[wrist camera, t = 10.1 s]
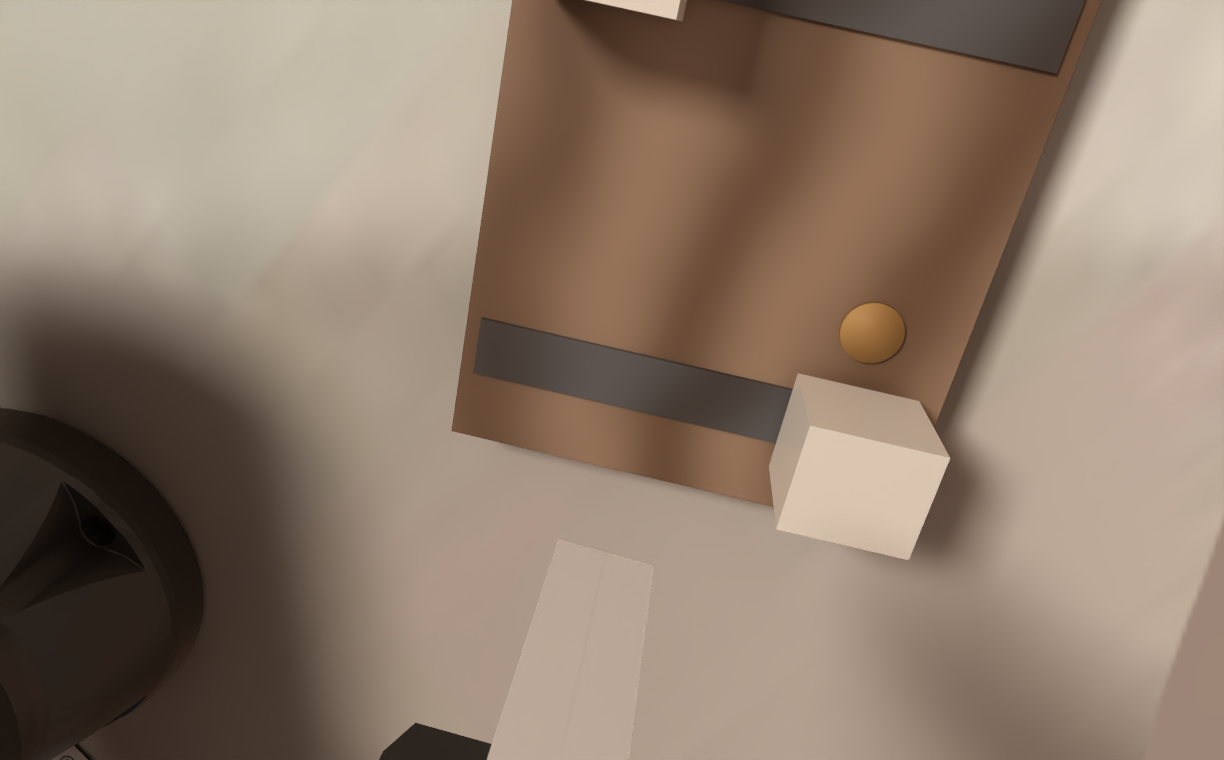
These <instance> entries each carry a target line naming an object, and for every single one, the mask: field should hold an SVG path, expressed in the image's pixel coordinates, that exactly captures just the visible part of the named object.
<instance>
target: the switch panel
mask: <svg viewBox="0 0 1224 760" xmlns="http://www.w3.org/2000/svg"><path fill="white" fill-rule="evenodd" d="M1101 1H1102V0H687V3H686V8H685V12H684V17H683V21H678V20H674V19H669V18H664V17H660V16H655V15H651V14H646V13H642V12H637V11H632V10H628V9H623V8H619V7H614V6H610V5H605V4H601V3H596V2H591V1H587V0H512V7H511V14H510V21H509V28H508V35H507V42H506V49H505V56H504V63H503V70H502V77H501V85H500V92H499V99H498V106H497V113H496V120H495V127H494V134H493V141H492V148H491V155H490V162H489V170H488V177H487V184H486V191H485V198H484V205H483V212H482V219H481V226H480V233H479V240H478V248H477V255H476V262H475V269H474V276H473V283H472V290H471V297H470V304H469V311H468V318H467V325H466V333H465V340H464V347H463V354H462V361H461V368H460V375H459V382H458V389H457V396H456V403H455V411H454V418H453V425H452V431H454V432H458V433H463V434H467V435H471V436H475V437H480V438H484V439H488V440H492V441H497V442H501V443H505V444H509V445H514V446H518V447H522V448H527V449H531V450H535V451H539V452H544V453H548V454H552V455H556V456H561V457H565V458H569V459H573V460H578V461H582V462H586V463H590V464H595V465H599V466H603V467H607V468H612V469H616V470H620V471H624V472H629V473H633V474H637V475H642V476H646V477H650V478H654V479H659V480H663V481H667V482H671V483H676V484H680V485H684V486H688V487H693V488H697V489H701V490H705V491H710V492H714V493H718V494H722V495H727V496H731V497H735V498H740V499H744V500H748V501H752V502H757V503H761V504H765V505H769V506H773V498H772V489H771V480H770V472H769V464H770V461H771V458H772V454H773V451H774V448H775V445H776V442H777V438H778V435H779V432H780V429H781V426H782V422H783V419H784V416H785V413H786V410H787V406H788V403H789V400H790V397H791V394H792V390H793V387H794V384H795V381H796V377H797V374H798V373H799V374H804V375H808V376H812V377H817V378H821V379H825V380H830V381H834V382H838V383H843V384H847V385H851V386H856V387H860V388H864V389H869V390H873V391H877V392H882V393H886V394H890V395H895V396H899V397H904V398H908V399H912V400H917V401H920V403H921V405H922V407H923V409H924V411H925V412H926V414H927V416H928V418H929V420H930V422H931V423H932V425H933V427H935V424H936V422H937V419H938V417H939V414H940V412H941V409H942V407H943V404H944V401H945V399H946V396H947V394H948V391H949V389H950V386H951V384H952V381H953V379H954V376H955V373H956V371H957V368H958V366H959V363H960V361H961V358H962V356H963V353H964V350H965V348H966V345H967V343H968V340H969V338H970V335H971V333H972V330H973V328H974V325H975V322H976V320H977V317H978V315H979V312H980V310H981V307H982V305H983V302H984V300H985V297H986V294H987V292H988V289H989V287H990V284H991V282H992V279H993V277H994V274H995V271H996V269H997V266H998V264H999V261H1000V259H1001V256H1002V254H1003V251H1004V249H1005V246H1006V243H1007V241H1008V238H1009V236H1010V233H1011V231H1012V228H1013V226H1014V223H1015V220H1016V218H1017V215H1018V213H1019V210H1020V208H1021V205H1022V203H1023V200H1024V198H1025V195H1026V192H1027V190H1028V187H1029V185H1030V182H1031V180H1032V177H1033V175H1034V172H1035V169H1036V167H1037V164H1038V162H1039V159H1040V157H1041V154H1042V152H1043V149H1044V147H1045V144H1046V141H1047V139H1048V136H1049V134H1050V131H1051V129H1052V126H1053V124H1054V121H1055V119H1056V116H1057V113H1058V111H1059V108H1060V106H1061V103H1062V101H1063V98H1064V96H1065V93H1066V90H1067V88H1068V85H1069V83H1070V80H1071V78H1072V75H1073V73H1074V70H1075V68H1076V65H1077V62H1078V60H1079V57H1080V55H1081V52H1082V50H1083V47H1084V45H1085V42H1086V39H1087V37H1088V34H1089V32H1090V29H1091V27H1092V24H1093V22H1094V19H1095V17H1096V14H1097V11H1098V9H1099V6H1100V4H1101Z"/></svg>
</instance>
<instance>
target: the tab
mask: <svg viewBox="0 0 1224 760" xmlns="http://www.w3.org/2000/svg"><path fill="white" fill-rule="evenodd" d="M949 460H950V457H949V455H948V453H947V451H946V449H945V447H944V445H943V444H942V442H941V440H940V438H939V436H938V434H937V433H936V431H935V429H934V427H933V425H932V423H931V422H930V420H929V418H928V416H927V414H926V412H925V411H924V409H923V407H922V405H921V403H920V401H917V400H912V399H908V398H904V397H899V396H895V395H890V394H886V393H882V392H877V391H873V390H869V389H864V388H860V387H856V386H851V385H847V384H843V383H838V382H834V381H830V380H825V379H821V378H817V377H812V376H808V375H804V374H799V373H798V374H797V377H796V381H795V384H794V387H793V390H792V394H791V397H790V400H789V403H788V406H787V410H786V413H785V416H784V419H783V422H782V426H781V429H780V432H779V435H778V438H777V442H776V445H775V448H774V451H773V454H772V458H771V461H770V464H769V472H770V480H771V489H772V498H773V506H774V515H775V523H776V529H778V530H782V531H786V532H790V533H795V534H799V535H803V536H807V537H812V538H816V539H820V540H824V541H829V542H833V543H837V544H841V545H846V546H850V547H854V548H858V549H863V550H867V551H871V552H875V553H880V554H884V555H888V556H892V557H897V558H901V559H905V560H909V558H910V556H911V554H912V551H913V549H914V546H915V544H916V541H917V539H918V536H919V534H920V531H921V529H922V527H923V524H924V522H925V519H926V517H927V514H928V512H929V509H930V507H931V504H932V502H933V500H934V497H935V495H936V492H937V490H938V487H939V485H940V482H941V480H942V477H943V475H944V473H945V470H946V468H947V465H948V463H949Z"/></svg>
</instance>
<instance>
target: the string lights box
mask: <svg viewBox="0 0 1224 760" xmlns="http://www.w3.org/2000/svg"><path fill="white" fill-rule="evenodd" d="M52 760H88V759H87V758H86V757H85V756H84V755H83V754H82V753H81V752H80V751H79V750H78V749H77V748H76V747H75V746H73V747H71V748H70V749H68V750H66V751H65V752H63V753H62V754H60V755H58V756H57V757H55V758H54V759H52Z"/></svg>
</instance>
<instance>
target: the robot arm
mask: <svg viewBox="0 0 1224 760" xmlns="http://www.w3.org/2000/svg"><path fill="white" fill-rule="evenodd" d="M653 571H654V565H650V564H647V563H643V562H639V561H636V560H632V559H629V558H625V557H621V556H618V555H614V554H610V553H607V552H603V551H599V550H596V549H592V548H588V547H585V546H581V545H578V544H574V543H570V542H567V541H563V540H559V539H558V541H557V544H556V548H555V551H554V554H553V557H552V560H551V563H550V566H549V569H548V572H547V575H546V578H545V581H544V585H543V588H542V591H541V594H540V597H539V600H538V603H537V606H536V609H535V612H534V615H533V618H532V622H531V625H530V628H529V631H528V634H527V637H526V640H525V643H524V646H523V649H522V652H521V655H520V659H519V662H518V665H517V668H516V671H515V674H514V677H513V680H512V683H511V686H510V689H509V692H508V696H507V699H506V702H505V705H504V708H503V711H502V714H501V717H500V720H499V723H498V726H497V729H496V733H495V736H494V739H493V742H492V744H489V743H486V742H482V741H479V740H475V739H471V738H468V737H464V736H461V735H457V734H454V733H450V732H446V731H443V730H439V729H436V728H432V727H429V726H425V725H421V724H418V723H415V724H414V725H412V726H411V727H410V728H409V729H408V730H407V731H406V732H405V733H403V734H402V735H401V736H400V737H399V738H398V739H397V740H396V741H395V742H393V743H392V744H391V745H390V746H389V747H388V748H387V749H386V750H384V751H383V753H382V755H381V757H380V759H379V760H629V757H630V749H631V741H632V734H633V726H634V718H635V710H636V703H637V695H638V687H639V679H640V672H641V664H642V656H643V648H644V641H645V633H646V625H647V617H648V610H649V602H650V594H651V586H652V578H653ZM202 606H203V596H202V585H201V578H200V573H199V569H198V566H197V562H196V559H195V556H194V553H193V551H192V548H191V546H190V544H189V541H188V539H187V537H186V535H185V533H184V531H183V529H182V527H181V526H180V524H179V522H178V521H177V519H176V518H175V516H174V514H173V513H172V512H171V510H170V509H169V507H168V506H167V505H166V503H165V502H164V501H163V499H162V498H161V497H160V496H159V494H158V493H157V492H156V491H155V490H154V489H153V488H152V487H151V485H150V484H149V483H148V482H147V481H146V480H145V479H144V478H143V477H142V476H141V475H140V474H139V473H138V472H136V471H135V470H134V469H133V468H132V467H131V466H130V465H128V464H127V463H126V462H125V461H124V460H122V459H121V458H120V457H118V456H117V455H116V454H114V453H113V452H112V451H110V450H109V449H107V448H106V447H104V446H103V445H101V444H100V443H98V442H96V441H95V440H93V439H91V438H90V437H88V436H86V435H84V434H82V433H81V432H79V431H76V430H74V429H72V428H70V427H68V426H66V425H63V424H61V423H58V422H56V421H53V420H50V419H47V418H44V417H41V416H38V415H34V414H31V413H27V412H22V411H17V410H10V409H3V408H0V760H52V759H54V758H55V757H57V756H58V755H60V754H62V753H63V752H65V751H66V750H68V749H70V748H71V747H73V746H74V745H76V744H77V743H79V742H80V741H82V740H84V739H85V738H87V737H88V736H90V735H91V734H93V733H94V732H96V731H97V730H99V729H100V728H102V727H104V726H106V725H108V724H110V723H112V722H114V721H116V720H118V719H120V718H122V717H124V716H126V715H127V714H129V713H131V712H132V711H134V710H135V709H137V708H138V707H139V706H141V705H142V704H143V703H144V702H145V701H147V700H148V699H149V698H150V697H151V696H152V695H153V694H154V693H155V692H156V691H157V690H158V689H159V688H160V686H161V685H162V684H163V683H164V682H165V681H166V679H167V678H168V677H169V676H170V675H171V674H172V672H173V671H174V670H175V669H176V668H177V667H178V665H179V664H180V663H181V662H182V661H183V659H184V658H185V657H186V655H187V654H188V652H189V651H190V649H191V647H192V645H193V643H194V641H195V639H196V636H197V633H198V630H199V626H200V623H201V616H202Z"/></svg>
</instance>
